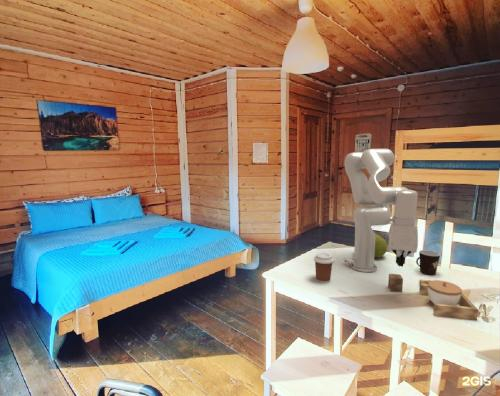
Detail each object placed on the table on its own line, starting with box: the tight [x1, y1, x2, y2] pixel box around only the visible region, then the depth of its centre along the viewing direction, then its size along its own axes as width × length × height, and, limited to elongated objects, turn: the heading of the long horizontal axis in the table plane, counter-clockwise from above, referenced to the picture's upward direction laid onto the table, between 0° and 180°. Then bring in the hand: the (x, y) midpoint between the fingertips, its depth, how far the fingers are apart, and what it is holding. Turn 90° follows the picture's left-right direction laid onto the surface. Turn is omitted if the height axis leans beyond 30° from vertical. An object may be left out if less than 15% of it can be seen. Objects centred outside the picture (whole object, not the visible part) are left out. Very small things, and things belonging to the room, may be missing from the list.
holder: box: [418, 279, 479, 321], centre depth 115 cm, size 13×26×4 cm, turn 166°
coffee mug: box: [415, 249, 441, 276], centre depth 141 cm, size 12×9×10 cm
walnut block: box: [387, 273, 404, 293], centre depth 124 cm, size 4×4×6 cm
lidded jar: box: [427, 279, 463, 306], centre depth 111 cm, size 11×11×9 cm
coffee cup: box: [313, 252, 335, 284], centre depth 134 cm, size 9×9×12 cm
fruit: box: [374, 233, 388, 259], centre depth 163 cm, size 16×14×15 cm
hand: (399, 265), depth 117 cm, fingers closed
